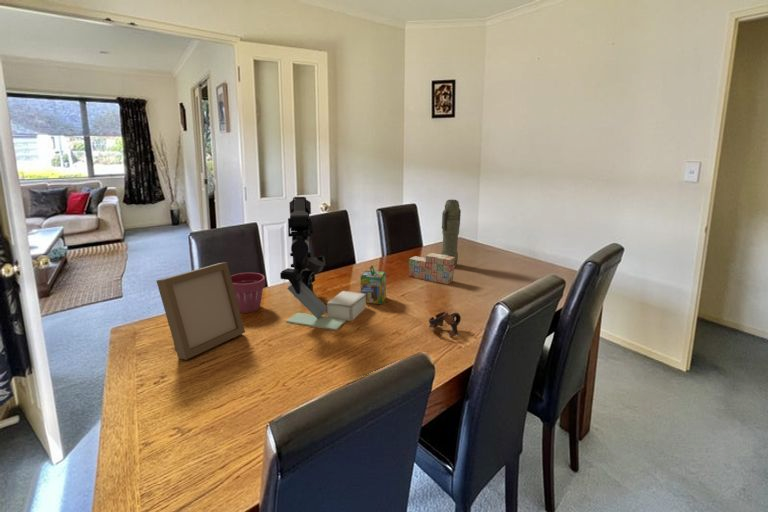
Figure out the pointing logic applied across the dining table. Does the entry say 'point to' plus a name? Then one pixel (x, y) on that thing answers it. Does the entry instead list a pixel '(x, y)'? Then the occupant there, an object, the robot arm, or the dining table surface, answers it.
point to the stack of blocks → (432, 268)
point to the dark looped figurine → (449, 321)
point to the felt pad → (316, 321)
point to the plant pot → (248, 290)
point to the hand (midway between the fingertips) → (302, 291)
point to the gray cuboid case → (346, 305)
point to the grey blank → (309, 300)
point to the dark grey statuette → (451, 229)
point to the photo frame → (201, 309)
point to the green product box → (374, 286)
